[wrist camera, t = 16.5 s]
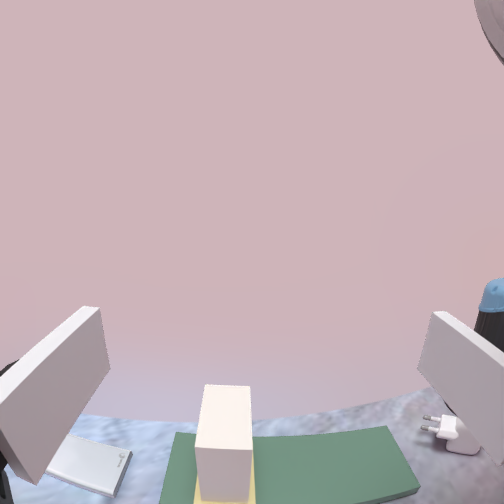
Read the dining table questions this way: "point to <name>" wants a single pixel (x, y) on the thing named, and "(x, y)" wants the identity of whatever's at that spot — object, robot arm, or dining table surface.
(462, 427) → the power adapter
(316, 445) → the board
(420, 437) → the dining table surface
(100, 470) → the hard drive
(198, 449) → the block
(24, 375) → the robot arm
